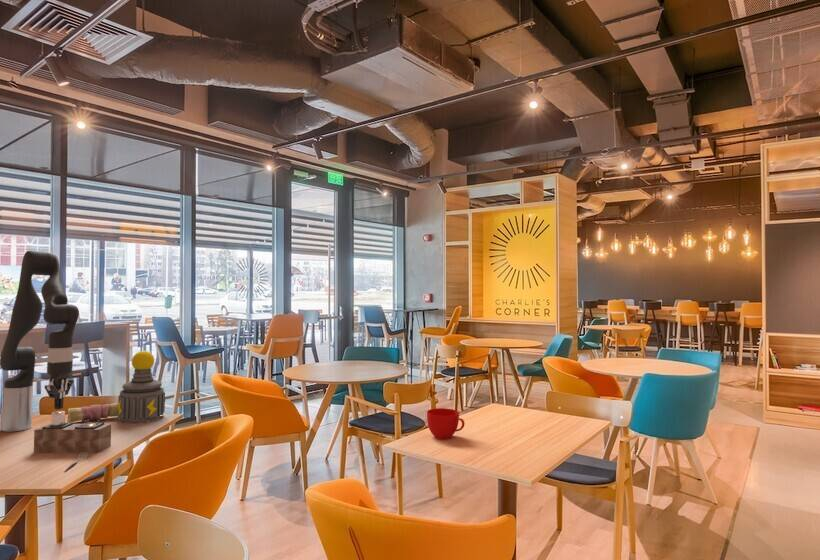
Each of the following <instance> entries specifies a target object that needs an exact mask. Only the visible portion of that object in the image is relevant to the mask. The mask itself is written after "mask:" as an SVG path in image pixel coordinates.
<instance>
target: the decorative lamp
mask: <svg viewBox="0 0 820 560" xmlns="http://www.w3.org/2000/svg"><path fill="white" fill-rule="evenodd" d="M154 364H155V357H154V355H153V354H152V353H151V352H150V351H147V350H141V351H138V352H136V353H135V354H134V355H133V356H132V358H131V365H132V367H133V369H134V371H133V374H132V378H131V381H127V382H125V383H123V384H122V390H120V391H119V395H118V399H117V401H118V402H117V403H118V405H117V406H118V416H117V417H118V419H119V421H120V422H121V423H125V422H128V423H129V424H138V423H139V422H141V423H148V422H147V421H149V422H153V421H152V420H154V421H157V420H160V419H162V418H163V417H164V413H165V412H166V411H165V410H166V409H165V408H166V407H165V406H166V393H165V388H164V387H162V381H159V380H157V379H154V376H153V373H152V368H153V366H154ZM160 415H163V416H160ZM159 418H160V419H159ZM156 419H157V420H156ZM139 424H140V423H139Z"/></svg>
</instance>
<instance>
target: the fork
mask: <svg viewBox="0 0 820 560" xmlns="http://www.w3.org/2000/svg"><path fill="white" fill-rule="evenodd" d="M87 457H88V452H87V453H86V452H85V453H79V455H78V457H77V459H78V460H77V461H75V462H74V463H72V464H70V465H69V466H68V467H67V468H65V470H64V473H66V472H68V471H70V470H71V469H72V468H74V467H76V465H77V464H78V463H79V461H80V460H86V459H87Z"/></svg>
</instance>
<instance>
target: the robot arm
mask: <svg viewBox="0 0 820 560" xmlns="http://www.w3.org/2000/svg"><path fill="white" fill-rule="evenodd" d="M35 275H36V276H44V277H45V276H48V279H47V280H45V282H44V283H43V285H42V286H41V297H42V299H43V301H44V311H43V302H42V300H41V299H40V296H39V295H38V293H37V291H36V289H35V288H34V285H33V282H32V281H33V280H32V278H33V276H35ZM62 282H63V280H62V273H61V265H60V261H59V258H58V256H57V254H55V253H54V252H48V251H47V252H45V251H35V250H27V251H25V253H24V255H23V257H22V262H21V269H20V274H19V281H18V289H17V292H16V296H15V300H14V304H13V307H12V312H11V317H10V321H9V322H10V323H9V328H8V331H7V334H6V338H5V341H4V343H3V346H2V350H1V353H0V368H1V370H2V371H8V372H9V371H19V372H18V373H17V374H16V375H14V376H12V377H10V378H7V379H6V380H5V381H4V386H3V387H4V390H3V406H1V407H0V431H1V432H7V433H9V432H20V431H25V430H28V429H31V428H32V415H33V414H32V413H33V411H32V410H33V389H34V387H33V385H34V384H33V382H34V378H35V366H36V365H35V364H36V351H35V349H34V348H33V347H32V346H19V344H20V342H21V341H22V340H23V338H24V337H26V336H27V334H29V332H31V331H32V330H33V329H35V327H36V326H37V325H38V323H39V322H40V320H41V315H42V312H43V320H44V321H45V323H47V324H49V325H64V326H63V328H61V329H58V330H55V331H54V330H53V331H51V332H50V333H49V335H48V350H47V361H46V363H47V364H46V374H47V375H50V378H49V383H48V385H47V384H45V385H44V390H45V391H46V393H47V394H48V396H49V398H50V399H54V401H53V402H54V404H53V405H54V408H53V409H54V410H61V409H63V408H64V398H65V397H66V396H68V394H69V392H70V390H71V388H72V385H73V383H74V379H70V374H71V373H72V372H73V366H74V365H73V362H74V359H73V357H74V355H73V354H74V353H73V336H74V332H75V331H74V330H75V328H76V326H77V325H76V324H77V322H78V320H79V316H80V311H79V308H78V306H76V305H75V304H68V301H69V300H68V297H67V294H66V291H65V288H64V286H63V285H64V284H63V283H62Z"/></svg>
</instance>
